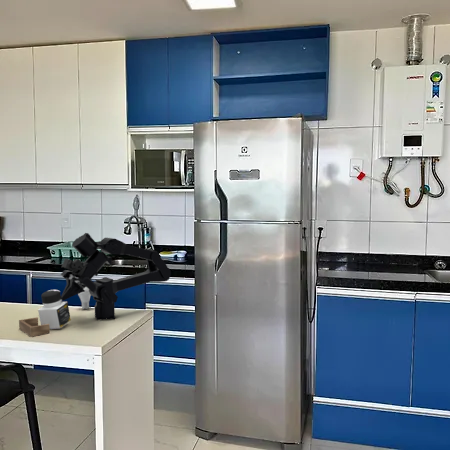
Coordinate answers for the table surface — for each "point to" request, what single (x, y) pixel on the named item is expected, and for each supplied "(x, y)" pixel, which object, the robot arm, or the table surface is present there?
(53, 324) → the medicine bottle
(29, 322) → the corral
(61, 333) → the table surface
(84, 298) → the lightbulb
